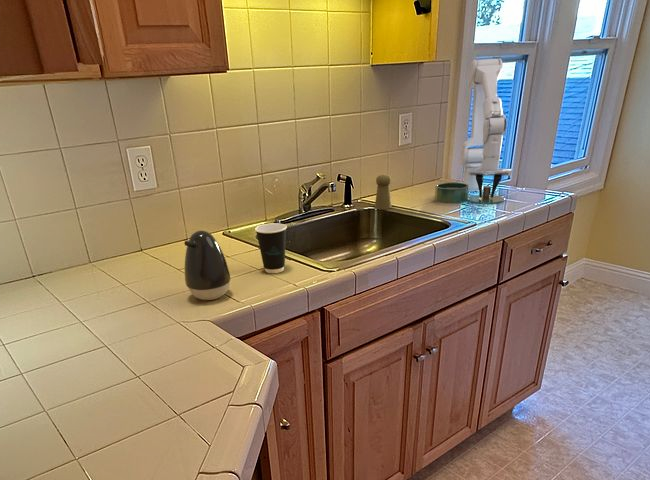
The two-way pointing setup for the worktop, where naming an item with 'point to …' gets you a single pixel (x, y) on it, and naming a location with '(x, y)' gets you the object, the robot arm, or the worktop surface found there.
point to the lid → (486, 197)
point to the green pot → (451, 193)
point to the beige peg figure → (383, 192)
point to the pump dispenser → (205, 267)
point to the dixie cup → (272, 246)
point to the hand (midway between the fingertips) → (486, 197)
